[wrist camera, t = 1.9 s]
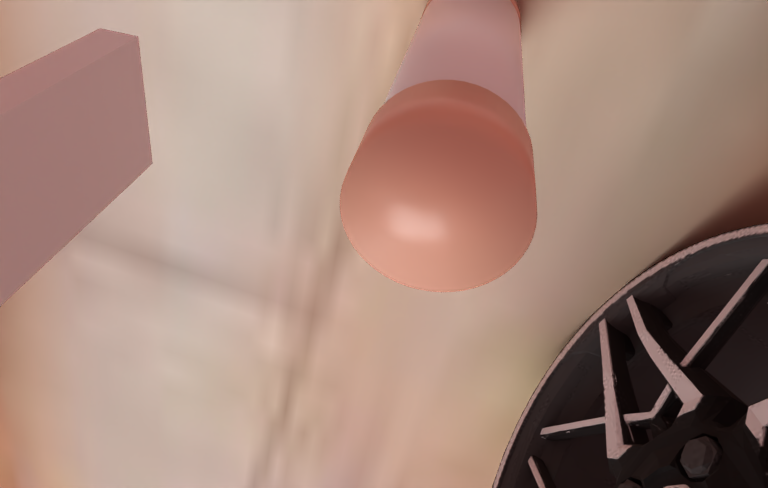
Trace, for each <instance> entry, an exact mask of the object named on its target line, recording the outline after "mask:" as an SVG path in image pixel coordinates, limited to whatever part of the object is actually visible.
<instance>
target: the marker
mask: <svg viewBox="0 0 768 488" xmlns="http://www.w3.org/2000/svg"><path fill="white" fill-rule="evenodd" d="M340 212H341V219H342V222H343V226H344V229H345V231H346V234H347V236H348V238H349V240H350V242H351V243H352V245H353V247H354V248H355V249H356V251H357V252H358V253H359V255H360V256H361V257H362V258H363V259H364V260H365V261H366V262H367V263H368V264H369V265H370V266H372V267H373V268H374V269H375V270H377V271H378V272H380V273H381V274H383V275H384V276H386V277H388V278H390V279H391V280H393V281H395V282H398V283H400V284H403V285H405V286H408V287H412V288H416V289H420V290H425V291H433V292H455V291H463V290H468V289H472V288H476V287H479V286H482V285H484V284H487V283H489V282H491V281H493V280H495V279H497V278H499V277H500V276H502V275H503V274H505V273H506V272H507V271H509V270H510V269H511V268H512V267H513V266H514V265H515V264H516V263H517V262H518V261H519V260H520V259H521V257H522V256H523V255H524V253H525V252H526V250H527V249H528V247H529V245H530V243H531V240H532V238H533V235H534V232H535V228H536V222H537V201H536V188H535V174H534V160H533V149H532V144H531V139H530V136H529V133H528V131H527V128H526V117H525V100H524V82H523V65H522V47H521V19H520V12H519V8H518V5H517V2H516V0H429V1H428V3H427V5H426V7H425V10H424V12H423V15H422V17H421V20H420V23H419V25H418V27H417V29H416V32H415V34H414V36H413V39H412V41H411V43H410V45H409V48H408V50H407V52H406V54H405V57H404V59H403V61H402V64H401V66H400V68H399V70H398V73H397V75H396V77H395V79H394V82H393V84H392V86H391V89H390V91H389V93H388V95H387V98H386V100H385V102H384V104H383V106H382V107H381V108H380V109H379V110H378V111H377V113H376V114H375V115H374V117H373V118H372V120H371V122H370V124H369V126H368V128H367V130H366V132H365V135H364V137H363V139H362V141H361V143H360V145H359V148H358V150H357V152H356V154H355V156H354V159H353V161H352V163H351V165H350V167H349V169H348V172H347V174H346V176H345V179H344V182H343V185H342V189H341V195H340Z"/></svg>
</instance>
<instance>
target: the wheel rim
mask: <svg viewBox="0 0 768 488" xmlns="http://www.w3.org/2000/svg"><path fill="white" fill-rule="evenodd" d="M492 488H768V223H767V224H761V225H754V226H750V227H746V228H742V229H738V230H734V231H730V232H726V233H723V234H720V235H717V236H714V237H711V238H708V239H706V240H703V241H701V242H699V243H697V244H694V245H692V246H690V247H688V248H685V249H683V250H681V251H679V252H677V253H675V254H673V255H672V256H670V257H668V258H666V259H665V260H663V261H661V262H659V263H658V264H656V265H654V266H652V267H651V268H649V269H648V270H647V271H645V272H644V273H642V274H641V275H639V276H638V277H636V278H635V279H634V280H632V281H631V282H629V283H628V284H627V285H626V286H624V287H623V288H622V289H621V290H620V291H618V292H617V293H616V294H615V295H614V296H612V297H611V298H610V299H609V300H608V301H607V302H606V303H605V304H604V305H603V306H601V307H600V308H599V309H598V310H597V311H596V312H595V313H594V314H593V315H592V316H591V317H590V318H589V319H588V320H587V321H586V322H585V324H584V325H583V326H582V327H581V328H580V329H579V331H578V332H577V333H576V334H575V335H574V336H573V338H572V339H571V340H570V341H569V342H568V343H567V345H566V346H565V347H564V348H563V349H562V351H561V352H560V354H559V355H558V356H557V358H556V359H555V361H554V362H553V363H552V365H551V366H550V368H549V369H548V370H547V372H546V374H545V375H544V377H543V378H542V380H541V382H540V383H539V385H538V386H537V388H536V390H535V391H534V393H533V394H532V396H531V398H530V400H529V402H528V404H527V406H526V408H525V409H524V411H523V413H522V415H521V417H520V419H519V421H518V423H517V425H516V427H515V430H514V432H513V434H512V436H511V439H510V441H509V443H508V446H507V448H506V450H505V452H504V455H503V458H502V460H501V463H500V466H499V469H498V472H497V475H496V478H495V480H494V483H493V486H492Z"/></svg>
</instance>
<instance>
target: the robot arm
mask: <svg viewBox="0 0 768 488" xmlns="http://www.w3.org/2000/svg"><path fill="white" fill-rule="evenodd" d="M151 164H152V155H151V146H150V137H149V128H148V119H147V110H146V102H145V93H144V84H143V75H142V66H141V57H140V48H139V39H138V36H133V35H129V34H124V33H119V32H115V31H110V30H105V29H98V30H96V31H94V32H92V33H90V34H88V35H86V36H84V37H82V38H80V39H78V40H76V41H74V42H72V43H70V44H68V45H66V46H64V47H62V48H60V49H58V50H56V51H54V52H52V53H50V54H48V55H46V56H44V57H42V58H40V59H38V60H36V61H34V62H32V63H30V64H28V65H26V66H24V67H22V68H20V69H18V70H16V71H14V72H12V73H10V74H8V75H6V76H4V77H2V78H0V306H1V305H2V304H3V303H4V302H6V301H7V300H8V299H9V298H10V297H11V296H12V295H13V294H14V293H15V292H16V291H17V290H18V289H19V288H20V287H21V286H23V285H24V284H25V283H26V282H27V281H28V280H29V279H30V278H31V277H32V276H33V275H34V274H35V273H36V272H37V271H39V270H40V269H41V268H42V267H43V266H44V265H45V264H46V263H47V262H48V261H49V260H50V259H51V258H52V257H53V256H55V255H56V254H57V253H58V252H59V251H60V250H61V249H62V248H63V247H64V246H65V245H66V244H67V243H68V242H69V241H70V240H72V239H73V238H74V237H75V236H76V235H77V234H78V233H79V232H80V231H81V230H82V229H83V228H84V227H85V226H86V225H88V224H89V223H90V222H91V221H92V220H93V219H94V218H95V217H96V216H97V215H98V214H99V213H100V212H101V211H102V210H104V209H105V208H106V207H107V206H108V205H109V204H110V203H111V202H112V201H113V200H114V199H115V198H116V197H117V196H118V195H119V194H121V193H122V192H123V191H124V190H125V189H126V188H127V187H128V186H129V185H130V184H131V183H132V182H133V181H134V180H135V179H137V178H138V177H139V176H140V175H141V174H142V173H143V172H144V171H145V170H146V169H147V168H148V167H149V166H150V165H151Z"/></svg>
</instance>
